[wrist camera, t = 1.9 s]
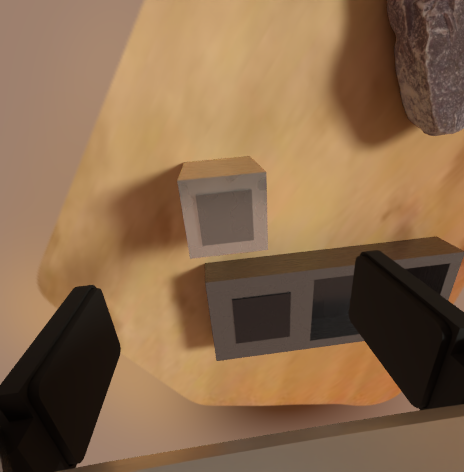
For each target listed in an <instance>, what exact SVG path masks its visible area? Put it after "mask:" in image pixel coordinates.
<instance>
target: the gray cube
mask: <svg viewBox="0 0 464 472" xmlns="http://www.w3.org/2000/svg"><path fill="white" fill-rule="evenodd" d="M177 183H178V189H179V195H180V201H181V207H182V213H183V219H184V225H185V231H186V236H187V242H188V248H189V254H190V259H192V258H200V257H209V256H218V255H226V254H235V253H244V252H252V251H261V250H268V233H267V184H266V171H265V170H264V169H263V168H262V167H261V166H260V165H259V164H257V163H256V162H255V161H254V160H253V159H252V158H251V157H250V156H244V157H234V158H223V159H213V160H202V161H192V162H184V164H183V167H182V169H181V172H180V175H179V177H178V180H177Z"/></svg>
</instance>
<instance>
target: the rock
mask: <svg viewBox="0 0 464 472" xmlns="http://www.w3.org/2000/svg"><path fill="white" fill-rule="evenodd" d="M387 14H388V18H389V21H390V25H391V27H392V29H393V31H394V33H395V34H396V43H395V47H394V56H395V68H396V75H397V78H398V82H399V86H400V89H401V90H400V94H401V98H402V103H403V106H404V109H405V112H406V114H407V116H408V119H409V120H410V121H411V122H412V123H413V124H415V125H416V126H417V127H419V128H421V129H422V131H423V132H424V133H426V134H428V135H431V136H438V135H445V134H453V133H456V132H458V131H460V130H462V129H463V128H464V0H387Z"/></svg>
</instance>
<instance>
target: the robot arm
mask: <svg viewBox="0 0 464 472" xmlns="http://www.w3.org/2000/svg"><path fill="white" fill-rule="evenodd" d="M349 318H350V321H351V323H352V324H353V326H354V327H355V328H356V330H357V331H358V332H359V334H360V335H361V337H362V338H363V339H364V341H365V342H366V343H367V345H368V346H369V347H370V349H371V350H372V351H373V353H374V354H375V356H376V357H377V358H378V360H379V361H380V362H381V364H382V365H383V366H384V368H385V369H386V370H387V372H388V373H389V375H390V376H391V377H392V379H393V380H394V381H395V383H396V384H397V385H398V387H399V388H400V389H401V391H402V392H403V394H404V395H405V396H406V398H407V399H408V400H409V402H410V403H411V404H412V405H413V406H414V407H416V408H419V409H420V410H419V411H414V412H407V413H401V414H394V415H388V416H382V417H376V418H369V419H363V420H356V421H350V422H344V423H337V424H332V425H325V426H319V427H313V428H307V429H301V430H295V431H288V432H282V433H277V434H270V435H264V436H258V437H252V438H246V439H240V440H234V441H228V442H222V443H216V444H210V445H204V446H198V447H192V448H186V449H180V450H175V451H169V452H163V453H157V454H151V455H145V456H139V457H134V458H128V459H122V460H116V461H110V462H104V463H99V464H94V465H88V466H83V467H78V468H76V465H77V464H78V463H81V461H82V460H83V459H84V456H85V454H86V451H87V448H88V445H89V442H90V439H91V437H92V434H93V431H94V428H95V425H96V422H97V419H98V416H99V413H100V410H101V408H102V405H103V402H104V399H105V396H106V393H107V391H108V387H109V385H110V382H111V379H112V376H113V373H114V370H115V368H116V365H117V362H118V359H119V356H120V350H121V348H120V343H119V340H118V337H117V334H116V331H115V328H114V325H113V322H112V319H111V316H110V314H109V311H108V308H107V305H106V302H105V299H104V296H103V293H102V291H101V289H100V288H96V287H95V286H94V285H88V286H79V287H75V288H74V289H73V290H72V291H71V293H70V294H69V295H68V297H67V298H66V299H65V300H64V302H63V303H62V304H61V306H60V307H59V308H58V310H57V311H56V312H55V314H54V315H53V316H52V318H51V319H50V320H49V322H48V323H47V324H46V326H45V327H44V328H43V329H42V331H41V332H40V333H39V335H38V336H37V337H36V339H35V340H34V341H33V343H32V344H31V345H30V347H29V348H28V349H27V350H26V352H25V353H24V355H23V356H22V357H21V358H20V360H19V361H18V362H17V364H16V365H15V366H14V368H13V369H12V370H11V372H10V373H9V374H8V376H7V377H6V378H5V379H4V381H3V382H2V383H1V385H0V472H464V312H463V311H461V310H460V309H459V308H457V307H456V306H455V305H453V304H452V303H450V302H449V301H448V300H446V299H445V298H444V297H442V296H441V295H440V294H438V293H437V292H435V291H434V290H433V289H431V288H430V287H429V286H427V285H426V284H425V283H423V282H422V281H420V280H419V279H418V278H416V277H415V276H414V275H412V274H411V273H410V272H408V271H407V270H406V269H404V268H403V267H401V266H400V265H399V264H397V263H396V262H395V261H393V260H392V259H391V258H389V257H388V256H386V255H385V254H384V253H382V252H381V251H379V250H373V251H365V252H362V253H361V254H360V256H358V257H357V258H356V261H355V268H354V276H353V284H352V291H351V299H350V307H349Z"/></svg>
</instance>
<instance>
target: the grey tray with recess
mask: <svg viewBox="0 0 464 472" xmlns="http://www.w3.org/2000/svg"><path fill="white" fill-rule="evenodd" d="M373 250H379V251H381V252H382V253H384V254H385V255H386V256H388V257H389V258H391V259H392V260H393V261H395V262H396V263H397V264H399V265H400V266H401V267H403V268H404V269H406V270H407V271H408V272H410V273H411V274H412V275H414V276H415V277H416V278H418V279H419V280H420V281H422V282H423V283H425V284H426V285H427V286H429V287H430V288H431V289H433V290H434V291H435V292H437V293H438V294H440V295H441V296H442V297H444V298H445V299H446V300H448V299H449V296H450V293H451V291H452V288H453V285H454V282H455V279H456V276H457V273H458V270H459V268H460V265H461V262H462V259H463V256H464V251H463V250H461V249H459V248H457V247H455V246H453V245H451V244H450V243H448V242H446V241H444V240H442V239H440V238H438V237H430V238H421V239H412V240H404V241H395V242H386V243H378V244H369V245H360V246H352V247H343V248H334V249H326V250H317V251H308V252H300V253H291V254H283V255H274V256H265V257H257V258H248V259H239V260H231V261H222V262H213V263H205V284H206V291H207V298H208V305H209V312H210V319H211V326H212V332H213V339H214V346H215V353H216V360H217V361H220V360H228V359H235V358H242V357H250V356H257V355H264V354H272V353H279V352H287V351H294V350H301V349H309V348H316V347H323V346H331V345H338V344H345V343H353V342H360V341H364V339H363V338H362V337H361V335H360V334H359V332H358V331H357V330H356V328H355V327H354V326H353V324H352V323H351V321H350V318H349V307H350V299H351V291H352V284H353V276H354V268H355V261H356V258H357V257H358V256H360V254H361V253H362V252H365V251H373Z"/></svg>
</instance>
